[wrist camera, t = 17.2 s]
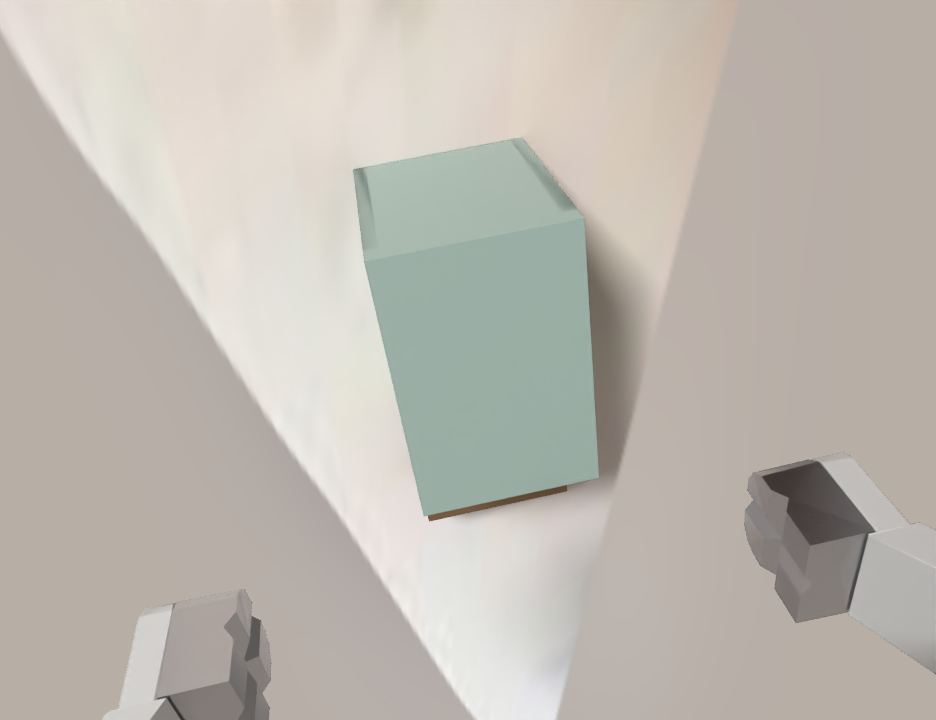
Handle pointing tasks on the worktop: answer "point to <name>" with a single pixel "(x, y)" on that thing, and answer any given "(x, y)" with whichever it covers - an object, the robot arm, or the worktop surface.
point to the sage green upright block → (482, 321)
